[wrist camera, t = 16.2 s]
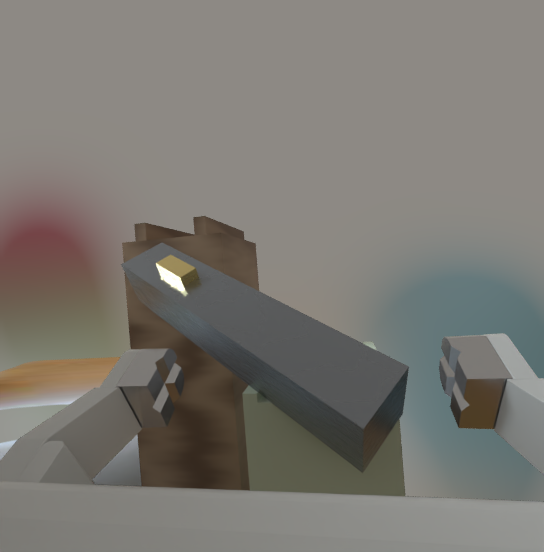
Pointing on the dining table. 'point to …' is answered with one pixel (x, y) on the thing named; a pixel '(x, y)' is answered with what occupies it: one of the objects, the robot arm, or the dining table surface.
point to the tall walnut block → (194, 371)
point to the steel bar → (278, 351)
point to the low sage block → (312, 456)
